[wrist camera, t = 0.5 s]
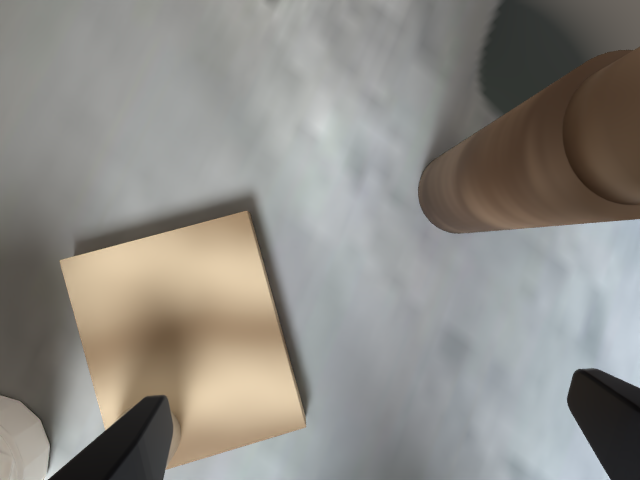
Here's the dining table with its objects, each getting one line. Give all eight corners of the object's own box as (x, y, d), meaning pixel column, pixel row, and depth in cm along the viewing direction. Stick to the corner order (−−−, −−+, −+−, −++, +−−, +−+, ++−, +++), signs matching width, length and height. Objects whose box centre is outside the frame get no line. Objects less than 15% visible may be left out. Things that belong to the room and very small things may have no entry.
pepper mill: (507, 221, 22) (799, 186, 9) (430, 243, 22) (620, 237, 9) (486, 142, 22) (747, -2, 9) (408, 163, 22) (567, 43, 9)
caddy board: (305, 417, 21) (305, 427, 20) (130, 469, 21) (119, 483, 20) (249, 212, 21) (247, 210, 20) (73, 259, 21) (59, 260, 20)
